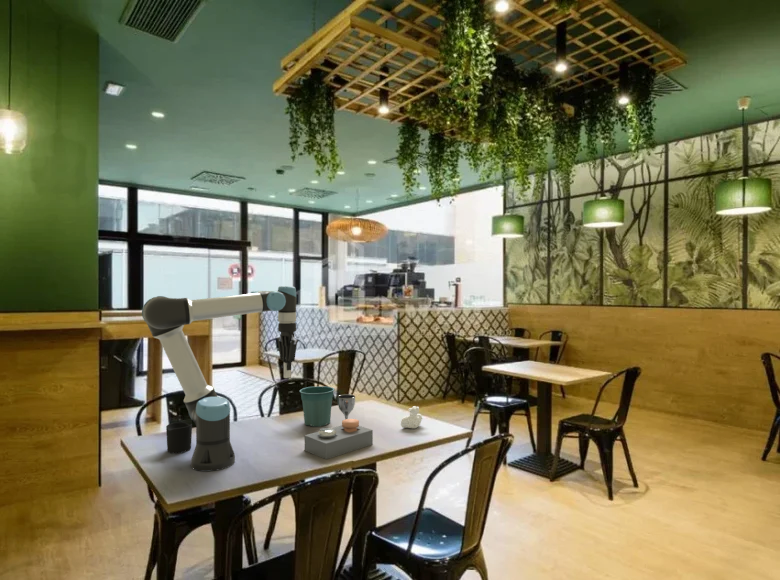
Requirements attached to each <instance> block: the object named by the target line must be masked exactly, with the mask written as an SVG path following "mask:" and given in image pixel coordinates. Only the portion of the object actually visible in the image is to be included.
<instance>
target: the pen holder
mask: <svg viewBox="0 0 780 580" xmlns="http://www.w3.org/2000/svg"><path fill="white" fill-rule="evenodd" d="M165 428H166V431H165V432H166V448H167V452H168V453H169V452H170V454H180V453H181V452H182V453H185V452H188V451H190V450H191V448H192V435H193V431H192V429H193V423H187V422H185V421H175V422H172V423H168V424H166V427H165Z"/></svg>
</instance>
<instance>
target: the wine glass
mask: <svg viewBox="0 0 780 580" xmlns="http://www.w3.org/2000/svg"><path fill="white" fill-rule="evenodd" d="M355 404H356V396H355V394H349V393H348V394H346V393H345V394H339V395H337V406H338V408H339V410H340V412H341V413H342V414H343V416H344V418H345V419H349V415H350V414H351V413H352V411H353V410H354V408H355ZM345 419H344V420H345Z"/></svg>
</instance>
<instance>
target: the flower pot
mask: <svg viewBox="0 0 780 580" xmlns="http://www.w3.org/2000/svg"><path fill="white" fill-rule="evenodd" d="M334 391H335V388H334V387H332V386H325V385H324V386H322V385H321V386H320V385H317V386H308V387H303V388H301V389H300V390H299V393H300V396H301V397H300V398H301V401H302V411H303V421H304V425H306V426H309V427H310V426H311V427H318V428H319V427H324V426H327V425H329V424H330V423H331V418H332V417H331V415H332V401H333V397H334Z"/></svg>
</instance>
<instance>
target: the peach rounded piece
mask: <svg viewBox="0 0 780 580" xmlns="http://www.w3.org/2000/svg"><path fill="white" fill-rule="evenodd" d="M341 425H342V427H343V428H344V431H346V432H349V433H350V432H353V431H357V427H359V426H360V420H359V419H356V418H348V419H343V420H342V421H341Z"/></svg>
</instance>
